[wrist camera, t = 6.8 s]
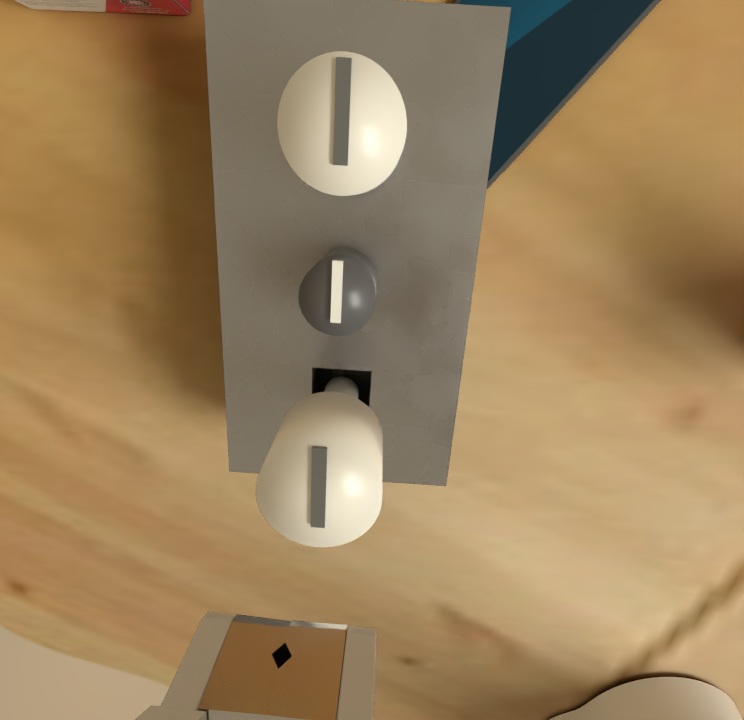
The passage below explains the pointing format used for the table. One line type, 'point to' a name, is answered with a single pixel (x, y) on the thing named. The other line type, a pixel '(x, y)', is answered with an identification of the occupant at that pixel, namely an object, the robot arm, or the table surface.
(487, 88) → the console
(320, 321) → the pot dial
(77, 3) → the ink box
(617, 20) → the smartphone
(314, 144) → the knob
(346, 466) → the knob
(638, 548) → the table surface
